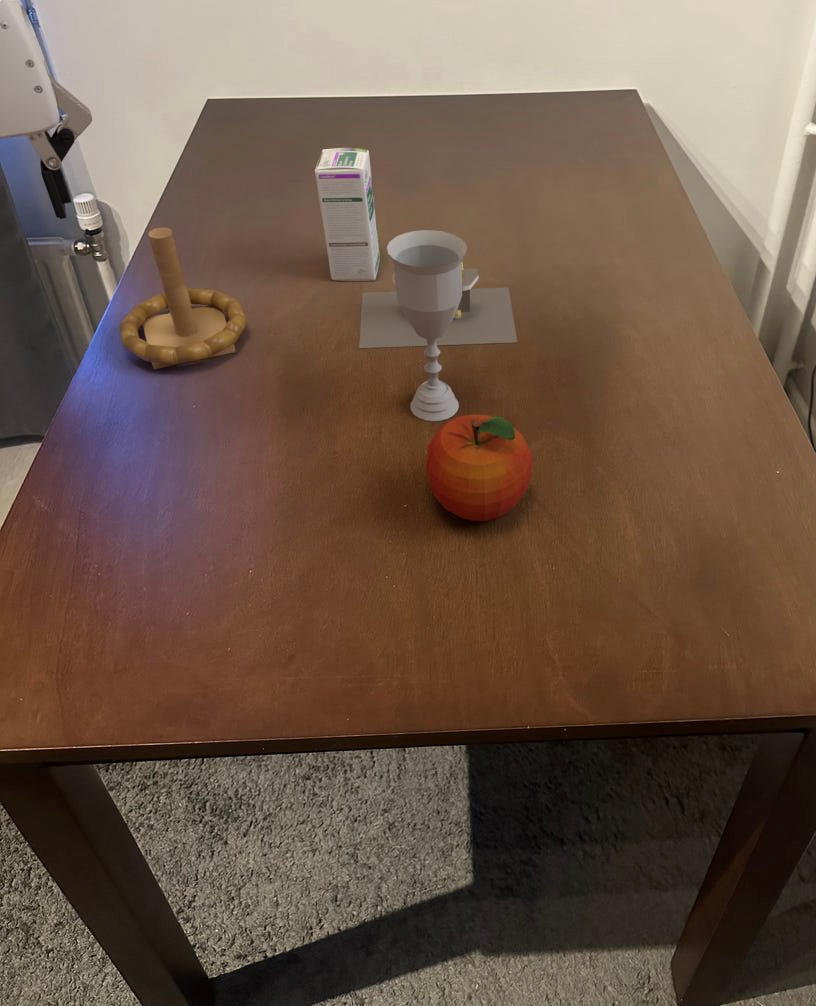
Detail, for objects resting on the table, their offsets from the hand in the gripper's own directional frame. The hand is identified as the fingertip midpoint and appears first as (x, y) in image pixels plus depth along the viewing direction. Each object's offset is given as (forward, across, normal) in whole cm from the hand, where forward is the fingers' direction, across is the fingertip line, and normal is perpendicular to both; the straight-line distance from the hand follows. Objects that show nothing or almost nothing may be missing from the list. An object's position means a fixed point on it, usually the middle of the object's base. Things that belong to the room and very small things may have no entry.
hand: (27, 215), depth 74 cm
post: (+23, -10, -14) cm, 29 cm away
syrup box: (+24, -32, -22) cm, 45 cm away
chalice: (+24, -32, +8) cm, 41 cm away
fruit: (+24, -31, +23) cm, 45 cm away
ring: (+21, -10, -14) cm, 27 cm away
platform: (+24, -38, -8) cm, 45 cm away
